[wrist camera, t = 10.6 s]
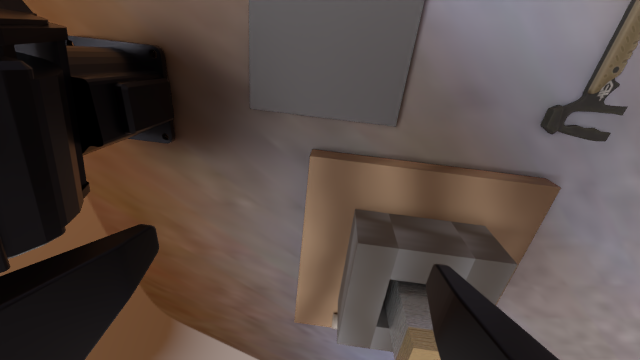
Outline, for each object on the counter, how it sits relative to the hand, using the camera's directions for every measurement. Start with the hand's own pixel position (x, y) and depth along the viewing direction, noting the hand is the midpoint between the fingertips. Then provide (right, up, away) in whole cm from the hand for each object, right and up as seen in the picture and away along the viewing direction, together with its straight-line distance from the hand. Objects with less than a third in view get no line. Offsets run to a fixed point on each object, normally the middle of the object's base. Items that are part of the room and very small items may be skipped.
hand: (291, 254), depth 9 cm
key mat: (+2, +11, +8) cm, 14 cm away
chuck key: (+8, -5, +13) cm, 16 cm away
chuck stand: (+8, -4, +14) cm, 17 cm away
